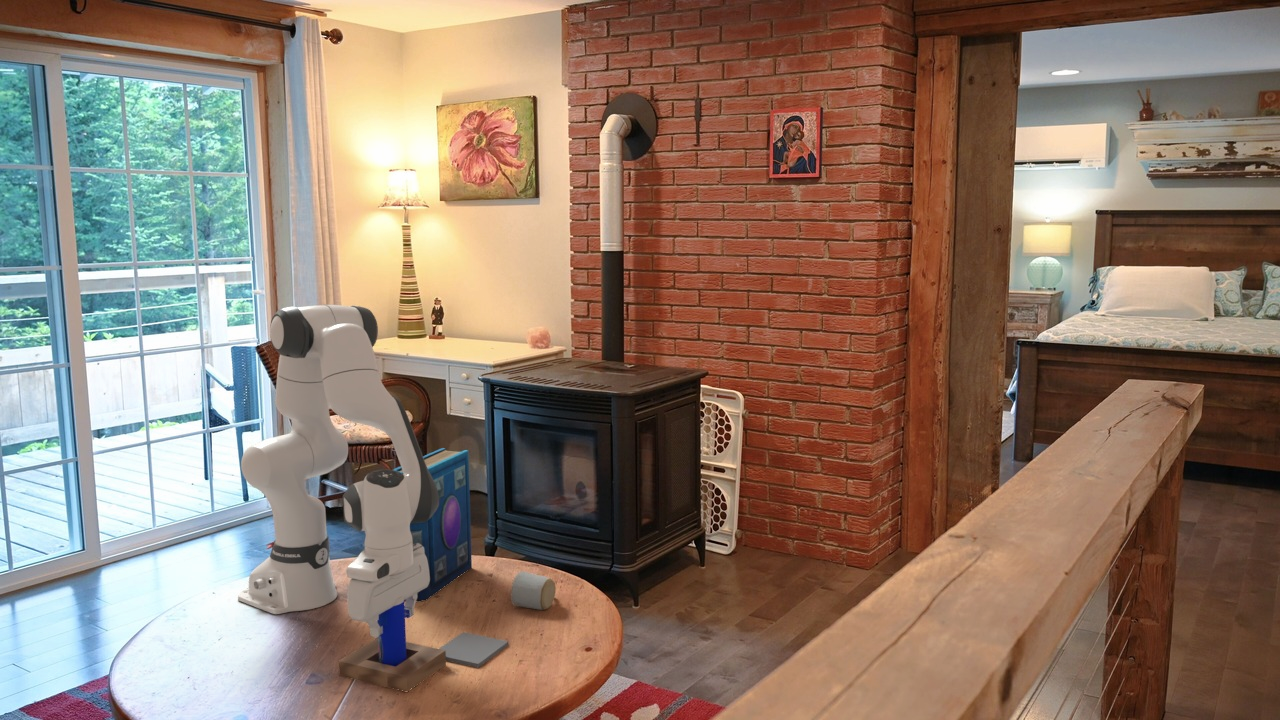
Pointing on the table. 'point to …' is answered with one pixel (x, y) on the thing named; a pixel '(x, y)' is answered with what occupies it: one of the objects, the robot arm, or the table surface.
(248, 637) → the table surface
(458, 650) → the rubber mat
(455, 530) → the book
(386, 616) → the beverage can
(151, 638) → the table surface
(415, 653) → the walnut caddy
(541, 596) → the ceramic mug
